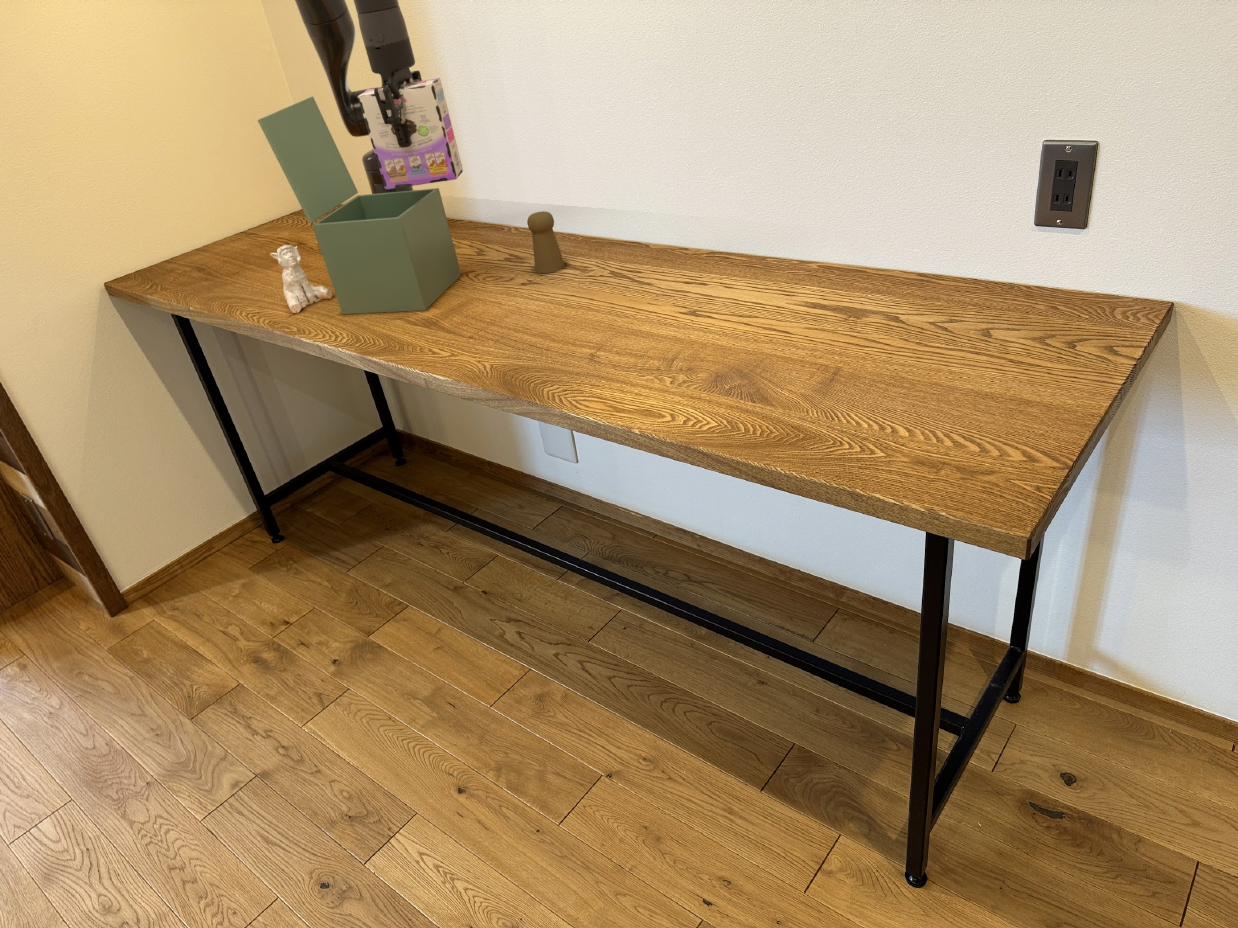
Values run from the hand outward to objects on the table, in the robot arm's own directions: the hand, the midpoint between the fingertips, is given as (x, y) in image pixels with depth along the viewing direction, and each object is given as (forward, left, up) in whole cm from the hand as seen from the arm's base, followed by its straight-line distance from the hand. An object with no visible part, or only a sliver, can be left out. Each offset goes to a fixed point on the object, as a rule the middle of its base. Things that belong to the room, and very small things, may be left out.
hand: (413, 140), depth 159 cm
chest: (-1, -12, -29) cm, 31 cm away
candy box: (0, 0, -7) cm, 7 cm away
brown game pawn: (-11, +16, -29) cm, 35 cm away
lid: (-1, -22, -1) cm, 22 cm away
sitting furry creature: (+1, -34, -29) cm, 44 cm away
